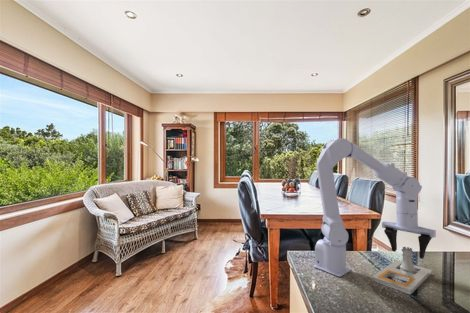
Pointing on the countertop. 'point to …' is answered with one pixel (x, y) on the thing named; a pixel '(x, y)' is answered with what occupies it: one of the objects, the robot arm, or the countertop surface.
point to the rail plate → (401, 277)
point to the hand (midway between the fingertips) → (407, 254)
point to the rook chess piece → (407, 261)
